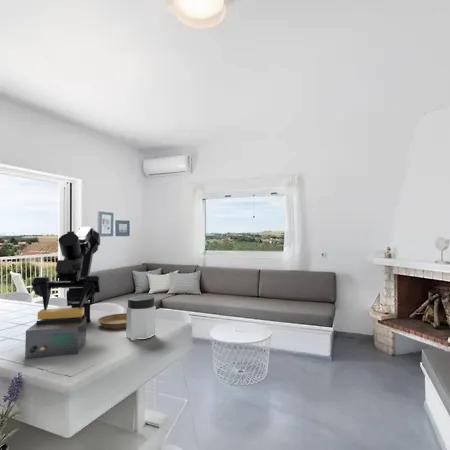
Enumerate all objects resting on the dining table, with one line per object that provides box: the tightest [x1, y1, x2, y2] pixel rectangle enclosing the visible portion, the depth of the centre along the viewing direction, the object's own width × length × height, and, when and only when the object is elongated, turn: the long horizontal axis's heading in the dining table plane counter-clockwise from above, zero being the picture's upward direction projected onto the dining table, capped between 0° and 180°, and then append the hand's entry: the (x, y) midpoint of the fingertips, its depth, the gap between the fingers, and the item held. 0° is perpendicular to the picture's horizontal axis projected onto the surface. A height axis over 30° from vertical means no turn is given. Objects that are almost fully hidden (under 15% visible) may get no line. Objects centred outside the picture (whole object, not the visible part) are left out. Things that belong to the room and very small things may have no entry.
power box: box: [24, 314, 87, 359], centre depth 88 cm, size 13×12×8 cm
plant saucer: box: [97, 312, 127, 330], centre depth 113 cm, size 15×15×3 cm
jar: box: [125, 295, 157, 340], centre depth 99 cm, size 9×8×12 cm
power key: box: [37, 307, 84, 321], centre depth 91 cm, size 4×11×2 cm, turn 104°
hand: (62, 308), depth 92 cm, fingers open, 9 cm apart
